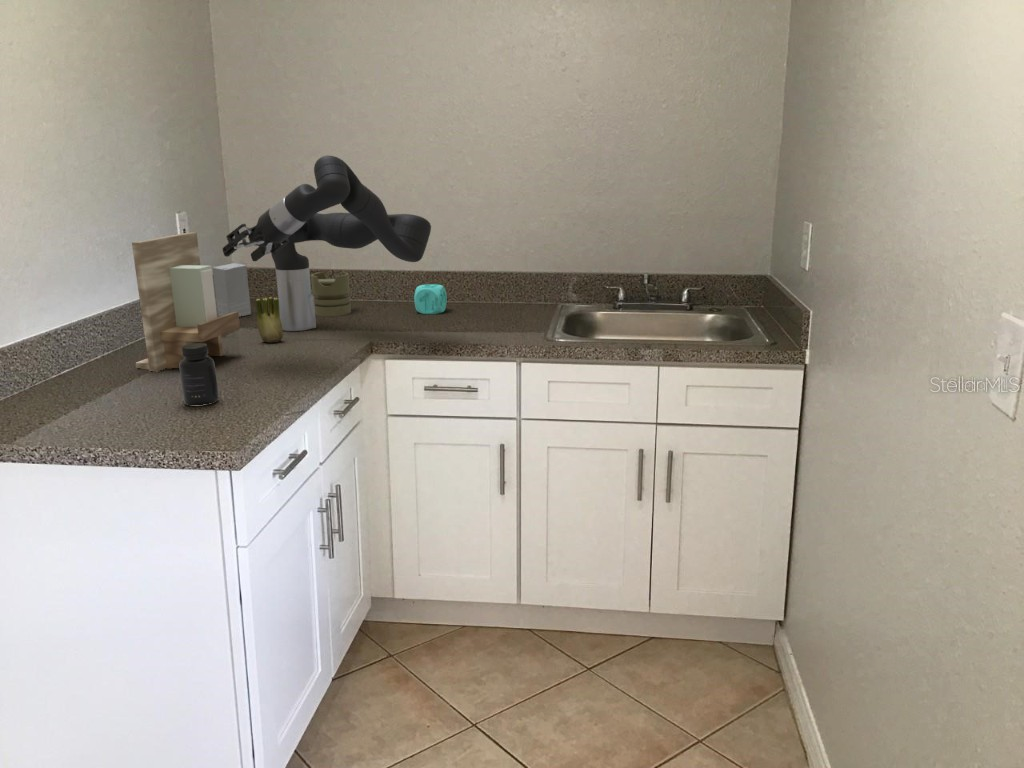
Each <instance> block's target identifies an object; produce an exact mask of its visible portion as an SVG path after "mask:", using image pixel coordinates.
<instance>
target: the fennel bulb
mask: <svg viewBox="0 0 1024 768" xmlns="http://www.w3.org/2000/svg"><path fill="white" fill-rule="evenodd" d="M261 300H262V301H261ZM255 305H256V315H257V319H256V320H257V329H258V334H259V336H260V338H261V340H262V342H264V343H269V344H275V343H278V342H280V341H282V339H283V338H284V337H283V336H284V330H283V327H282V322H281V319H280V311H279V299H278V298H277V297H274V298H273V297H272V296H271V297H270V296H269V297H268V298H262V299H261V298H256V299H255Z"/></svg>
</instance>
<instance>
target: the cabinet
mask: <svg viewBox="0 0 1024 768" xmlns="http://www.w3.org/2000/svg"><path fill="white" fill-rule="evenodd" d="M200 265H201V264H200ZM200 265H180V266H176V267H172V268H169V271H170V279H171V287H172V295H173V303H174V310H175V318H176V326H182V327H197V325H198V324H201V323H204V322H206V321H209V320H212V319H215V318H218V313H217V305H216V296H215V287H214V278H213V269H212V265H201V266H200Z"/></svg>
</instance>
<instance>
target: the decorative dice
mask: <svg viewBox="0 0 1024 768" xmlns="http://www.w3.org/2000/svg"><path fill="white" fill-rule="evenodd" d="M413 296H414V298H413V299H414V300H413V301H414V307H415V310H416V312H418V313H419V314H422V315H437V314H443V313H444V312H445V311H446V308H447V301H448V300H447V297H448V296H447V291H446V288H445V287H444V286H443V285H442V284H435V283H434V284H433V283H430V284H420V285H417V286H416V288H415V291H414V295H413Z"/></svg>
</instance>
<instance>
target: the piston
mask: <svg viewBox="0 0 1024 768" xmlns="http://www.w3.org/2000/svg"><path fill="white" fill-rule="evenodd" d="M310 281H311V293H312V294H313V296H314V308H315V316H318V315H319V317H337V316H344V315H345V316H346V315H349V314H351V313H352V305H351V304H352V303H351V296H350V294H349V293H350V291H351V290H350V289H351V288H350V277H349V272H345V271H341V275H337V276H335V278H328V277H327V276H326V274H325V272H324V271H322V272H317V273H312V274H310Z"/></svg>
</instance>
